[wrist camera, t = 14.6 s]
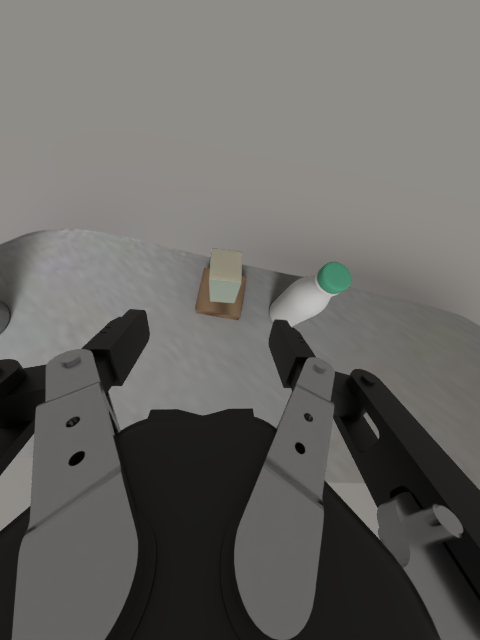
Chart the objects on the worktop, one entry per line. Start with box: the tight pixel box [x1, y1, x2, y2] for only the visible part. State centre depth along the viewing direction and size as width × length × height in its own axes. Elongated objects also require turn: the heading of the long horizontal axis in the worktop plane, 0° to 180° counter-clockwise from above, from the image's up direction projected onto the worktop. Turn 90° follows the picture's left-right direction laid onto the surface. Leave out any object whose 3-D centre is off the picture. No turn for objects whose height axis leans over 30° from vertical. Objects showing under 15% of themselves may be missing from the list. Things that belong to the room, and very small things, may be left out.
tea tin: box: [209, 248, 242, 303], centre depth 33 cm, size 5×5×11 cm
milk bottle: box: [269, 262, 351, 327], centre depth 34 cm, size 8×8×20 cm
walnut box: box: [195, 268, 246, 320], centre depth 40 cm, size 10×10×4 cm
